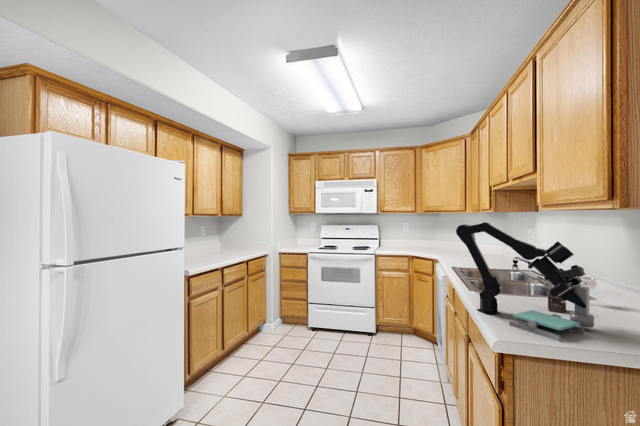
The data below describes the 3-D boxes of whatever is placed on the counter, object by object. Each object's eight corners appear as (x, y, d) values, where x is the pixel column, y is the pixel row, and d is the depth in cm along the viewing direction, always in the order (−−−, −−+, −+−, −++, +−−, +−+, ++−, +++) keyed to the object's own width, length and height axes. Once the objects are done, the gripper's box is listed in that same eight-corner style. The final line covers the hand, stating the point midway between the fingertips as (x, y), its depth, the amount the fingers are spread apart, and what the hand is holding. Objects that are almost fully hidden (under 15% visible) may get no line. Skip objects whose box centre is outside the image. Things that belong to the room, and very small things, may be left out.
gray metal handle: (567, 323, 114) (567, 286, 114) (573, 320, 118) (573, 284, 118) (591, 329, 109) (591, 290, 109) (596, 324, 113) (595, 287, 113)
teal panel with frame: (509, 324, 118) (509, 313, 118) (533, 319, 124) (533, 308, 124) (559, 341, 102) (558, 328, 102) (584, 333, 109) (584, 322, 109)
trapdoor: (512, 319, 118) (512, 314, 118) (532, 315, 123) (532, 310, 123) (559, 334, 104) (559, 328, 104) (580, 328, 108) (580, 322, 108)
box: (548, 311, 134) (548, 294, 134) (547, 307, 139) (547, 291, 139) (566, 313, 131) (566, 296, 131) (564, 309, 136) (564, 292, 136)
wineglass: (583, 305, 141) (582, 279, 141) (574, 301, 148) (574, 276, 148) (600, 306, 140) (600, 279, 140) (591, 302, 146) (591, 277, 146)
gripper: (559, 260, 111) (601, 298, 102) (575, 256, 122) (614, 289, 113) (534, 279, 117) (571, 316, 108) (551, 273, 128) (586, 306, 119)
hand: (586, 306), depth 112 cm, fingers closed on gray metal handle, 3 cm apart
